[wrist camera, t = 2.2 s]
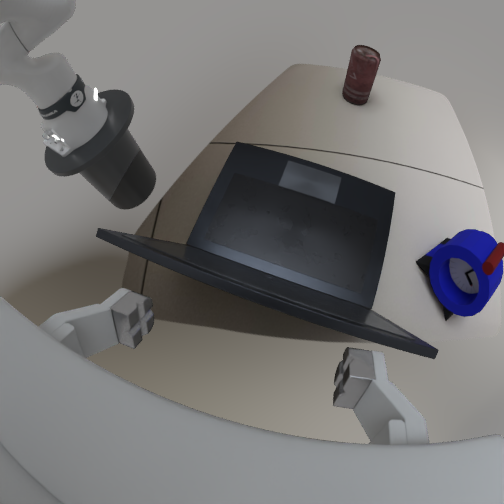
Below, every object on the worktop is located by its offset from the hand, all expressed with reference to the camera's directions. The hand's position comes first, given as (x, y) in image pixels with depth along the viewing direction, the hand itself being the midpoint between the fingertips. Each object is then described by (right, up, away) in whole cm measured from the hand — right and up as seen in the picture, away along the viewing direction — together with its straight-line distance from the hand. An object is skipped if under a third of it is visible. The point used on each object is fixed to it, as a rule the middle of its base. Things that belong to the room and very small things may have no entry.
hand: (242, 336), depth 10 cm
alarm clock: (+36, -1, +29) cm, 46 cm away
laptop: (+8, +9, +33) cm, 35 cm away
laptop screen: (+2, 0, +19) cm, 19 cm away
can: (+24, +39, +42) cm, 62 cm away
